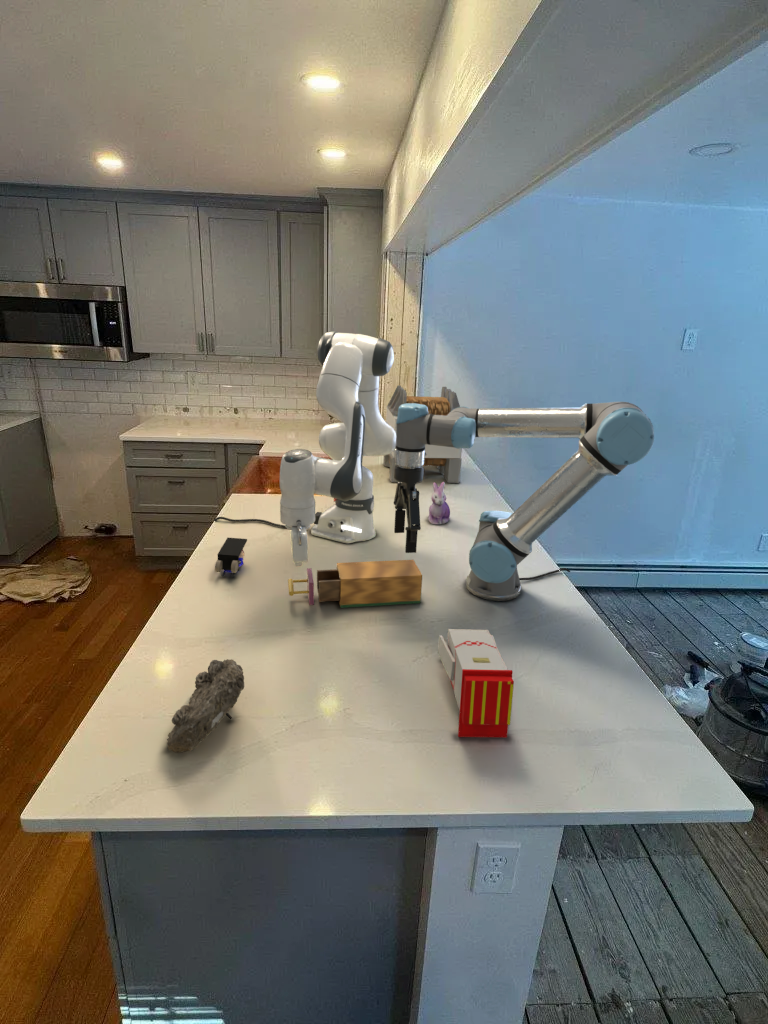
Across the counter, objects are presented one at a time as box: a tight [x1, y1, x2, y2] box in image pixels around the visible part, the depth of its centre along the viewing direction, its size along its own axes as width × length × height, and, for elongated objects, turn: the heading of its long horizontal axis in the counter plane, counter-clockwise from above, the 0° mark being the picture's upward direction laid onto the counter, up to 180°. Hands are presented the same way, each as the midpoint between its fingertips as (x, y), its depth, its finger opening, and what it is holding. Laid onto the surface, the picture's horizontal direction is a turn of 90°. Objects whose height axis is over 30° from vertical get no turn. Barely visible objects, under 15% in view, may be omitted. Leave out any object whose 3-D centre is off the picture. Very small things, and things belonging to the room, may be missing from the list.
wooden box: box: [336, 559, 423, 609], centre depth 155 cm, size 22×10×8 cm, turn 101°
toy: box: [437, 628, 515, 738], centre depth 117 cm, size 12×13×30 cm
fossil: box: [166, 658, 245, 754], centre depth 106 cm, size 22×10×15 cm
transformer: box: [383, 384, 463, 484], centre depth 268 cm, size 34×33×41 cm
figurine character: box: [214, 537, 248, 578], centre depth 166 cm, size 7×8×15 cm
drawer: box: [287, 567, 340, 606], centre depth 152 cm, size 26×9×6 cm, turn 101°
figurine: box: [427, 481, 451, 525], centre depth 211 cm, size 9×10×15 cm
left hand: (298, 563), depth 148 cm, fingers closed
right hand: (404, 542), depth 152 cm, fingers open, 13 cm apart
